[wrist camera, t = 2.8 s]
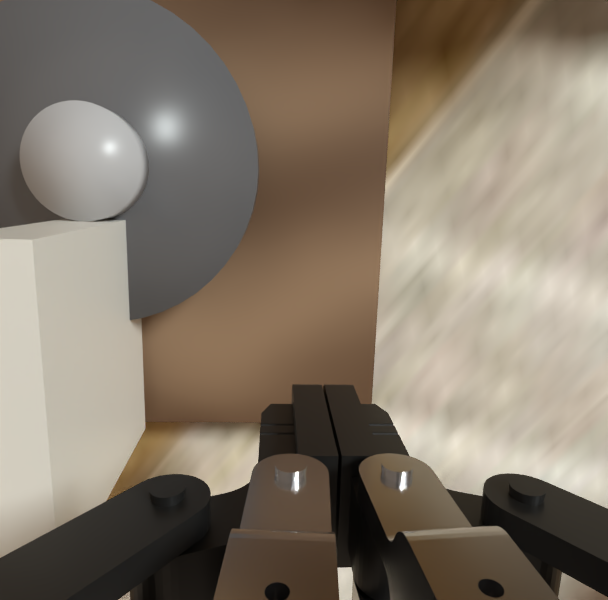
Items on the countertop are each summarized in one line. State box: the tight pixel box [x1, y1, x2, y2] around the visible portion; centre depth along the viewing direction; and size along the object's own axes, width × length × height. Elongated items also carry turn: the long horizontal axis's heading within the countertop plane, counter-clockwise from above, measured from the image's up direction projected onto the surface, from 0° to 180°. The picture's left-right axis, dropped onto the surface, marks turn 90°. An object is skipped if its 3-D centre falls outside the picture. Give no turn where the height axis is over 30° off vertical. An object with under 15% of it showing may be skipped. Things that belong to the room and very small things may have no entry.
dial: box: [0, 0, 259, 558], centre depth 12 cm, size 13×9×7 cm
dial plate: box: [0, 0, 397, 422], centre depth 17 cm, size 17×17×2 cm
